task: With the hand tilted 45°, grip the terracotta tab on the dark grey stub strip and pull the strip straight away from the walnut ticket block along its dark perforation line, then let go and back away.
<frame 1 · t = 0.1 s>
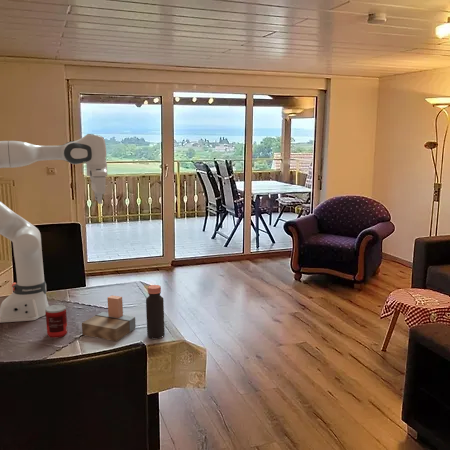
hand: (98, 202, 215), 48 cm above the table, tool pointing down, fingers open, 8 cm apart
canned food: (57, 334, 190), on the table
bottle: (156, 335, 188), on the table
ticket block: (106, 333, 190), on the table
stub: (115, 312, 195), point 7 cm above the table, slide at 0.0 cm
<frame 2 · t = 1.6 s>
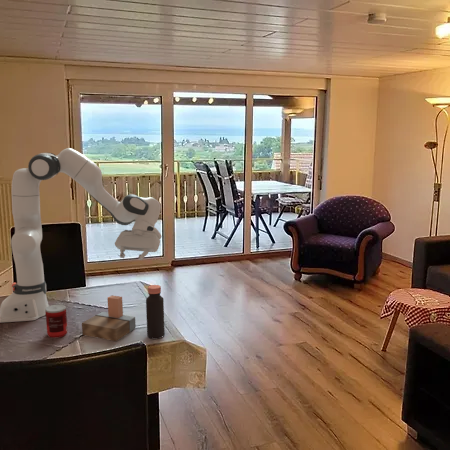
hand: (130, 258, 203), 26 cm above the table, tool tilted 45°, fingers open, 8 cm apart
nothing on the table moved.
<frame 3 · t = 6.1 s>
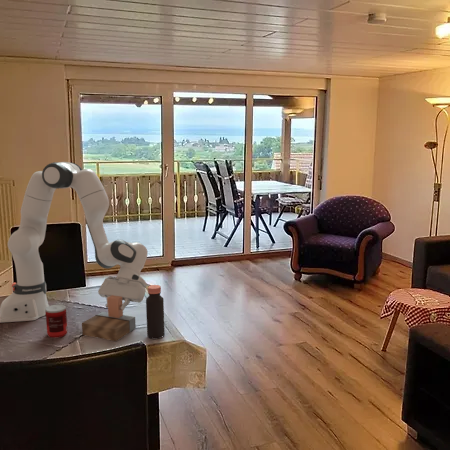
hand: (114, 308, 194), 8 cm above the table, tool tilted 45°, fingers closed on stub, 5 cm apart
stub: (115, 312, 195), point 7 cm above the table, slide at 0.0 cm, touching gripper
everything else where it was.
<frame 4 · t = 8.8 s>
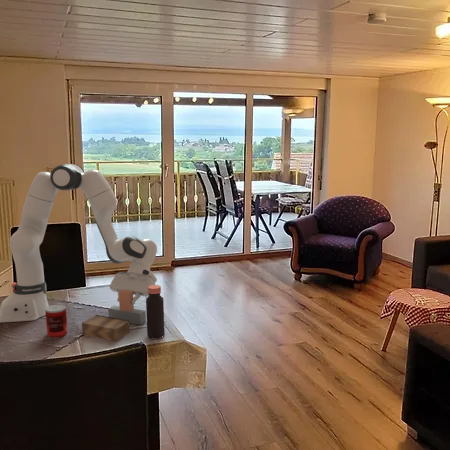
hand: (125, 302, 201), 8 cm above the table, tool tilted 45°, fingers closed on stub, 5 cm apart
stub: (126, 305, 202), point 7 cm above the table, slide at 7.9 cm, touching gripper
everything else where it was.
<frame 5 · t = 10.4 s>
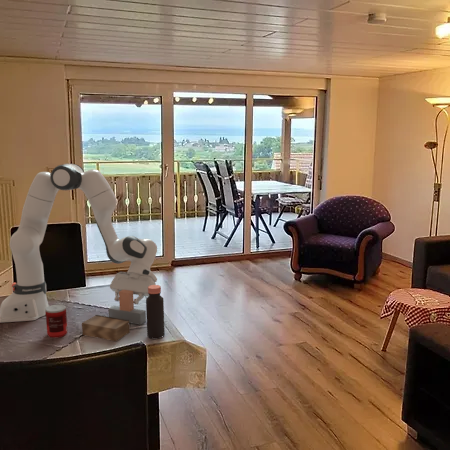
hand: (125, 302, 201), 8 cm above the table, tool tilted 45°, fingers open, 8 cm apart
stub: (126, 305, 202), point 7 cm above the table, slide at 7.9 cm
everything else where it was.
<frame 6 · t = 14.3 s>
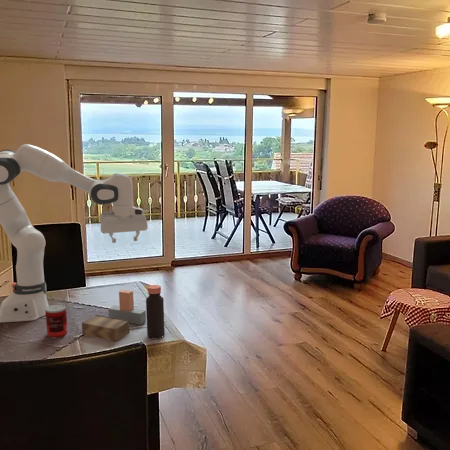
hand: (124, 241, 212), 31 cm above the table, tool pointing down, fingers open, 8 cm apart
nothing on the table moved.
at the end: stub slide at 7.9 cm; the gripper is holding nothing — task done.
